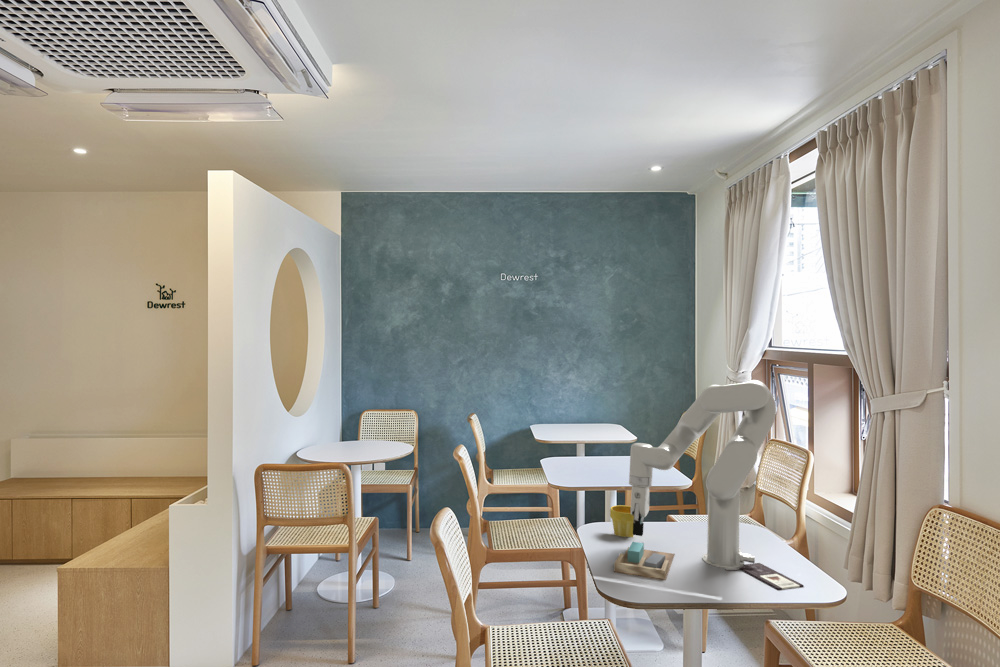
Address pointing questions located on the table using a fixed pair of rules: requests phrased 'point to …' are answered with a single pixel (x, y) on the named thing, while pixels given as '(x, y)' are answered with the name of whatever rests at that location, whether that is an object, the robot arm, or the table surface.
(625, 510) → the plant pot
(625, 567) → the comb board
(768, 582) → the chocolate bar
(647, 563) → the grey rectangular block
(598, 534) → the table surface
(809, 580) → the table surface
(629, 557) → the aqua foam brick
